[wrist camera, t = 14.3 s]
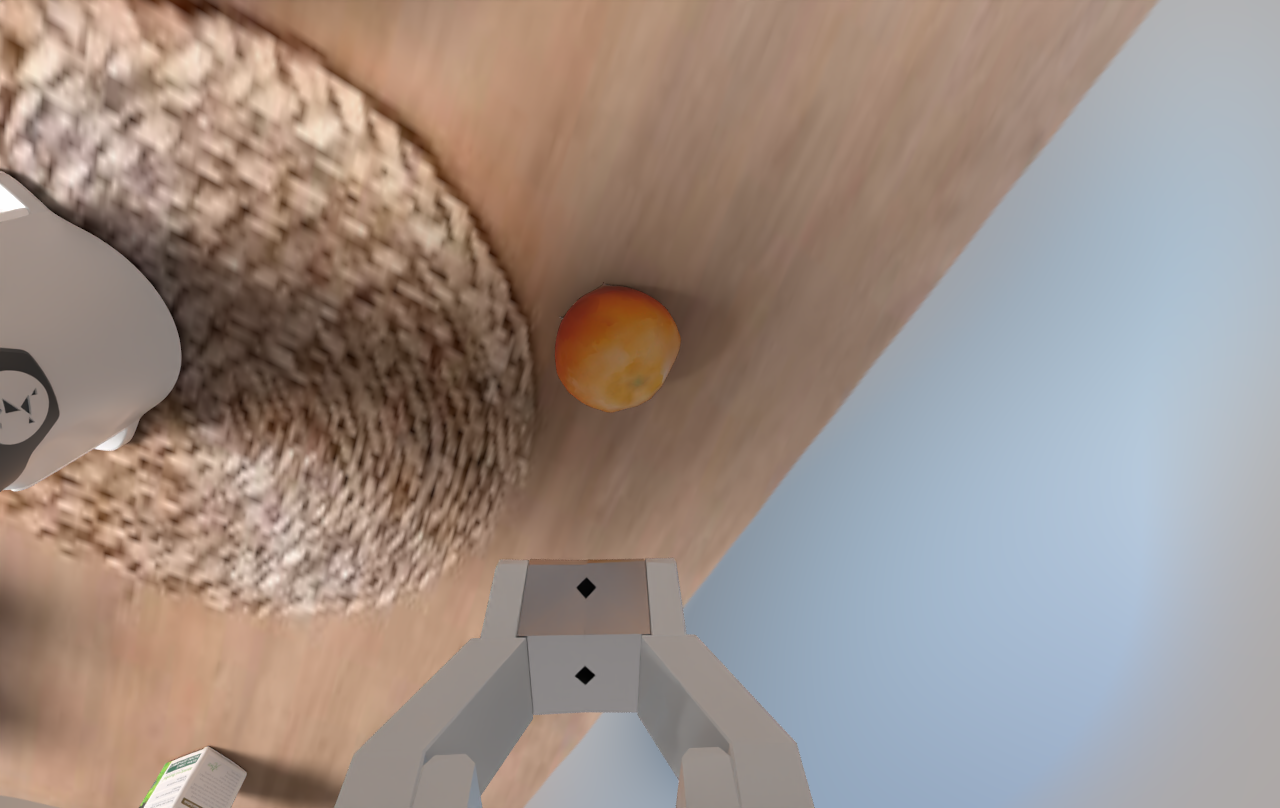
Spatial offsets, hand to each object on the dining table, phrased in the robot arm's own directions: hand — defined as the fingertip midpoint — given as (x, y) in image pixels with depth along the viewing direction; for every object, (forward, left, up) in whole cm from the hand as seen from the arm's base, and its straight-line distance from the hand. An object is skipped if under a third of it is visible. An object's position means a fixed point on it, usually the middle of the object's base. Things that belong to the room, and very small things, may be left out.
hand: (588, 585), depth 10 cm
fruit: (+1, -8, -31) cm, 32 cm away
